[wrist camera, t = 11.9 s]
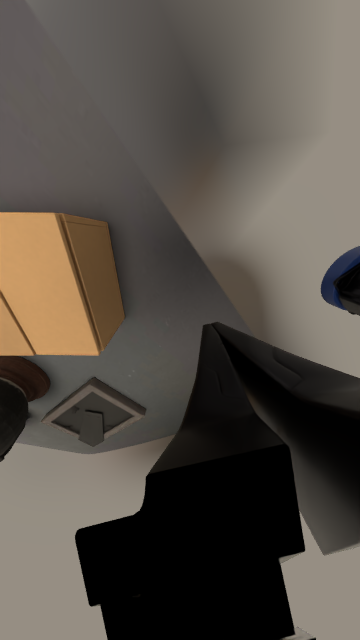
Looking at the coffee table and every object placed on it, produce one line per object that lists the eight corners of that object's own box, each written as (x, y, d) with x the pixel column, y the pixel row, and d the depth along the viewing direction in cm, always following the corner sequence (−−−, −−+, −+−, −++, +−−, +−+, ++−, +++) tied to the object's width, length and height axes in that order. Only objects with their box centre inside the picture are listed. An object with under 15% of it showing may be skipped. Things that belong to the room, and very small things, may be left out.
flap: (58, 213, 10) (53, 212, 10) (101, 352, 16) (99, 355, 16) (-37, 212, 10) (-45, 211, 10) (39, 352, 16) (36, 354, 16)
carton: (107, 222, 17) (54, 211, 10) (125, 317, 23) (100, 356, 16) (-12, 221, 17) (-155, 209, 10) (36, 317, 23) (-31, 356, 15)
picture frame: (97, 437, 39) (146, 409, 34) (93, 446, 37) (144, 418, 32) (46, 414, 34) (93, 377, 29) (39, 424, 32) (88, 386, 27)
